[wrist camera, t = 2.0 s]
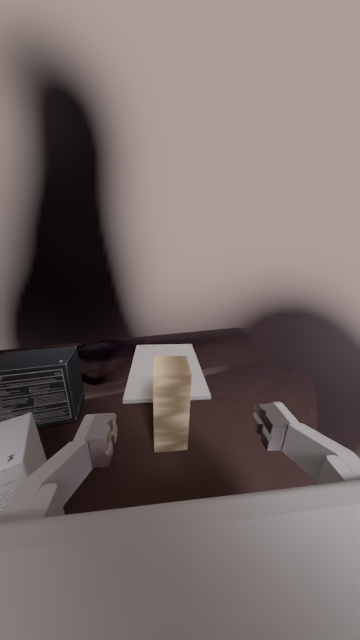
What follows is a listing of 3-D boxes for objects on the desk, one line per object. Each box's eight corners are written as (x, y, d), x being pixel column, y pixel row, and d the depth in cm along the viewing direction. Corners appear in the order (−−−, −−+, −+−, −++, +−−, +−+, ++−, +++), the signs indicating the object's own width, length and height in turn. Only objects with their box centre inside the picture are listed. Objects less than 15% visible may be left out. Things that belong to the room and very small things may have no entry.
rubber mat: (122, 403, 33) (122, 400, 33) (136, 347, 54) (136, 345, 54) (210, 399, 35) (211, 395, 34) (191, 346, 56) (191, 344, 55)
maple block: (154, 452, 25) (152, 376, 21) (154, 424, 29) (153, 356, 25) (187, 449, 25) (191, 374, 22) (183, 422, 30) (186, 355, 26)
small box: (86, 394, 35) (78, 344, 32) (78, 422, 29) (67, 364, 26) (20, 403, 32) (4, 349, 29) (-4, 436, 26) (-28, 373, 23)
